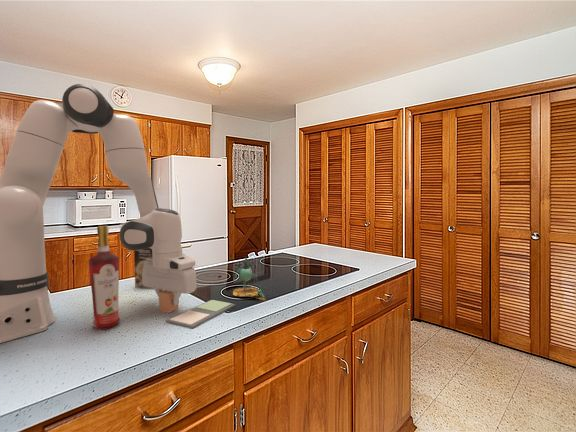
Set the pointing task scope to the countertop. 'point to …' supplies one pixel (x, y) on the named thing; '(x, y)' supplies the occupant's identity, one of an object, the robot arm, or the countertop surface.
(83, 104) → the robot arm
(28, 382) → the countertop surface
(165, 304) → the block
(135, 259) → the coffee box
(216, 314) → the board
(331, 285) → the countertop surface
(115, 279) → the liquor
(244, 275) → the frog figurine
